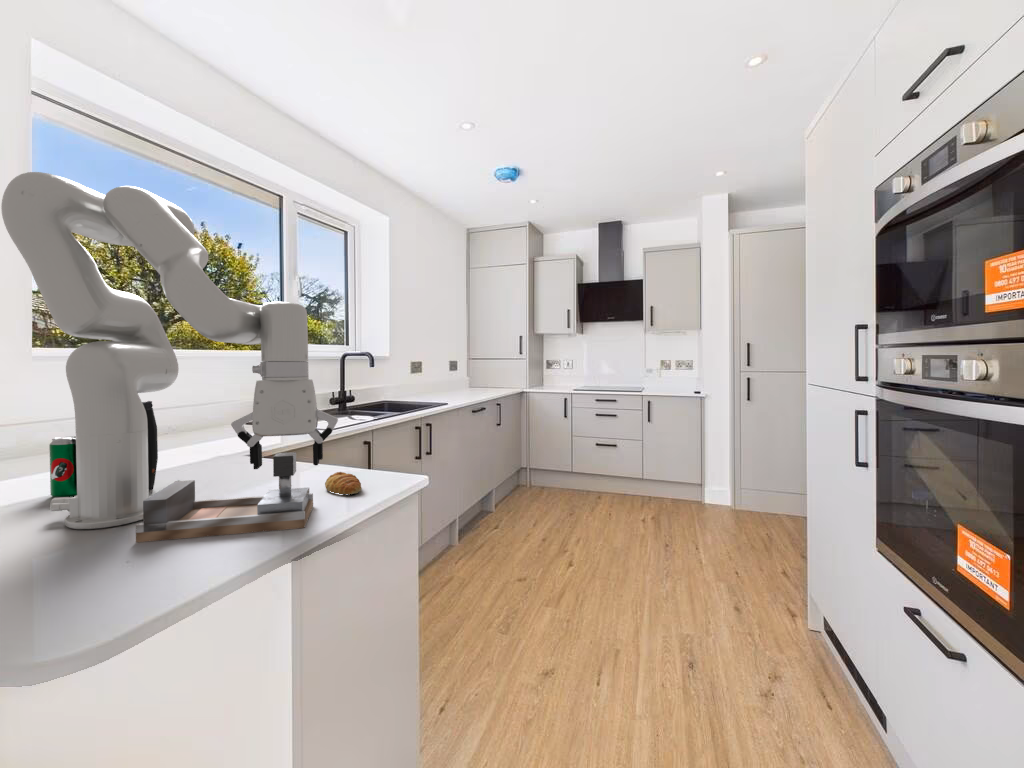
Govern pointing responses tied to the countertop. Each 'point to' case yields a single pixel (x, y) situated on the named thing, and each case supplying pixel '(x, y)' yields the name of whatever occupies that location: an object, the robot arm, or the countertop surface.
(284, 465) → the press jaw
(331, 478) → the pastry
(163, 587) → the countertop surface
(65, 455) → the soda can
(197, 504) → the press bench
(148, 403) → the portable speaker
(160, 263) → the robot arm
